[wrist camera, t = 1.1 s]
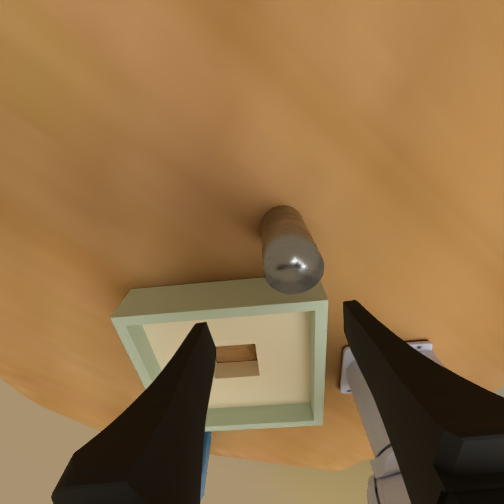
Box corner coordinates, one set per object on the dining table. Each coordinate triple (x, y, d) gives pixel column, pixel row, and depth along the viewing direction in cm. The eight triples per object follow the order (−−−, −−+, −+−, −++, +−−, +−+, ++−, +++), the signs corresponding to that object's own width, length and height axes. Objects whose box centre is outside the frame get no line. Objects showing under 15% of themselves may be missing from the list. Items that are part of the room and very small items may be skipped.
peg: (303, 203, 20) (325, 240, 14) (303, 243, 22) (323, 291, 16) (258, 208, 20) (261, 246, 14) (262, 247, 22) (266, 296, 16)
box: (316, 272, 23) (328, 299, 20) (315, 391, 32) (322, 425, 28) (130, 289, 24) (110, 317, 21) (176, 399, 33) (167, 433, 29)
